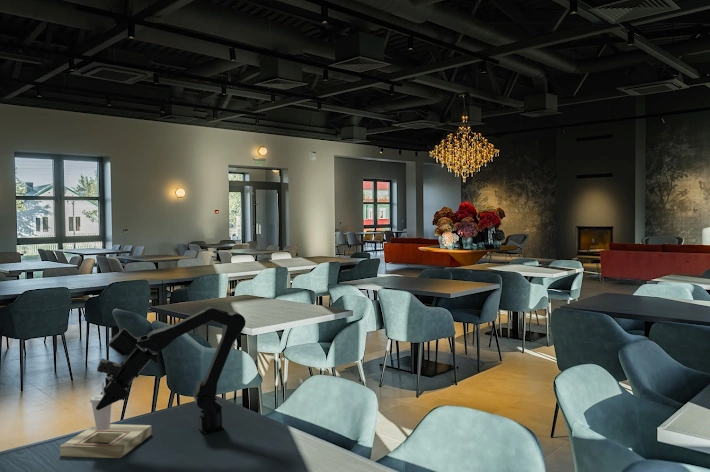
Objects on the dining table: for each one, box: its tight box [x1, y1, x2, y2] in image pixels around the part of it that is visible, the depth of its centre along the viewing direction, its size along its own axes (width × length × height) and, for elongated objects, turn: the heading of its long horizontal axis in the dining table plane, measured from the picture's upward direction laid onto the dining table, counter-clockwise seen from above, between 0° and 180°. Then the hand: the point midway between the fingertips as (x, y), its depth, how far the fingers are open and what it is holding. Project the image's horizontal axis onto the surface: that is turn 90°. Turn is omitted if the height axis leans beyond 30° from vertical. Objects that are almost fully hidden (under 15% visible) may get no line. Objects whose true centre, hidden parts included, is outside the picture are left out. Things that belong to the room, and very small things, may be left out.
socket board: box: [59, 423, 153, 459], centre depth 181 cm, size 19×19×3 cm
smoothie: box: [89, 381, 113, 431], centre depth 179 cm, size 6×6×14 cm
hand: (96, 406), depth 179 cm, fingers closed on smoothie, 6 cm apart
